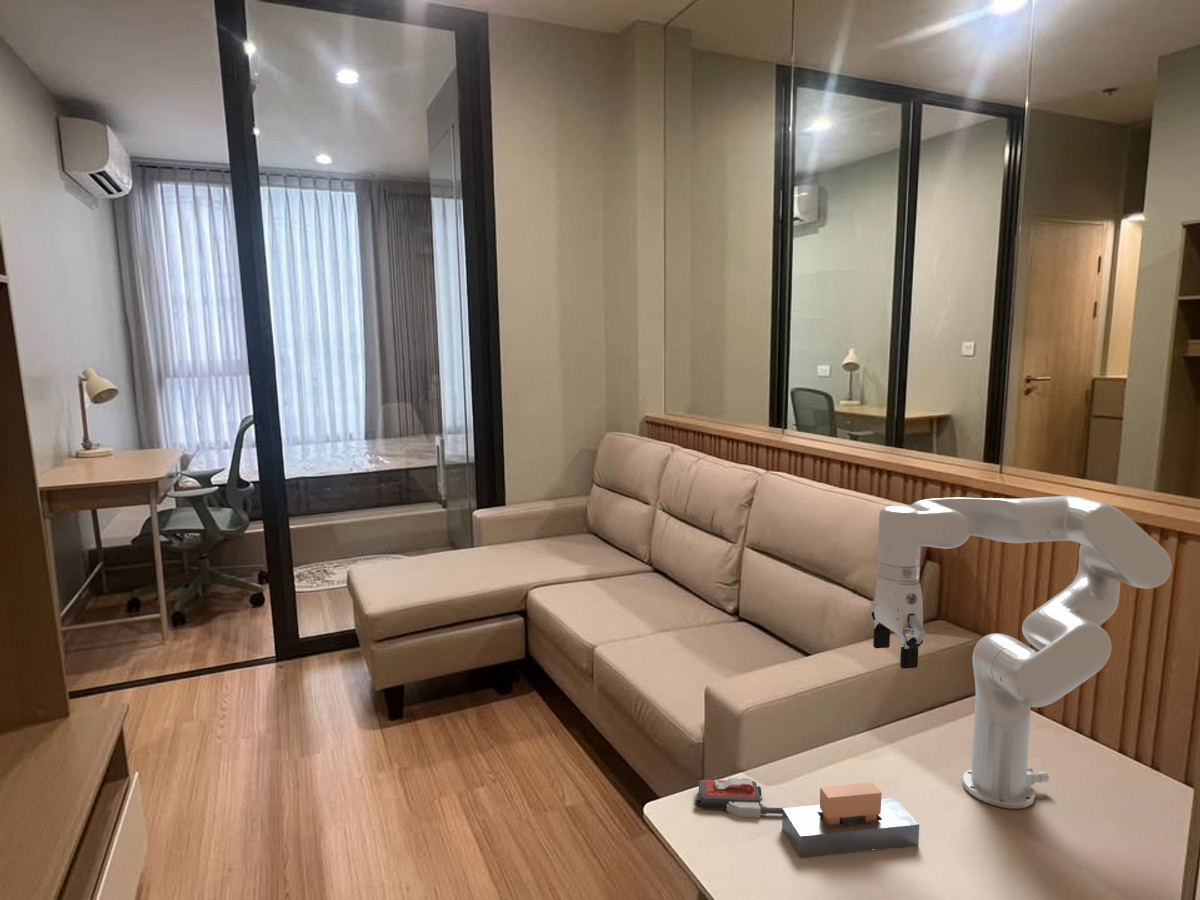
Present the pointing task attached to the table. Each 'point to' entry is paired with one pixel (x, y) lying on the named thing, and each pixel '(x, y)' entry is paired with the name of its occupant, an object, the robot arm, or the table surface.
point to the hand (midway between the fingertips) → (894, 657)
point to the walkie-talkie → (733, 797)
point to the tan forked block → (850, 802)
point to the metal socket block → (849, 830)
